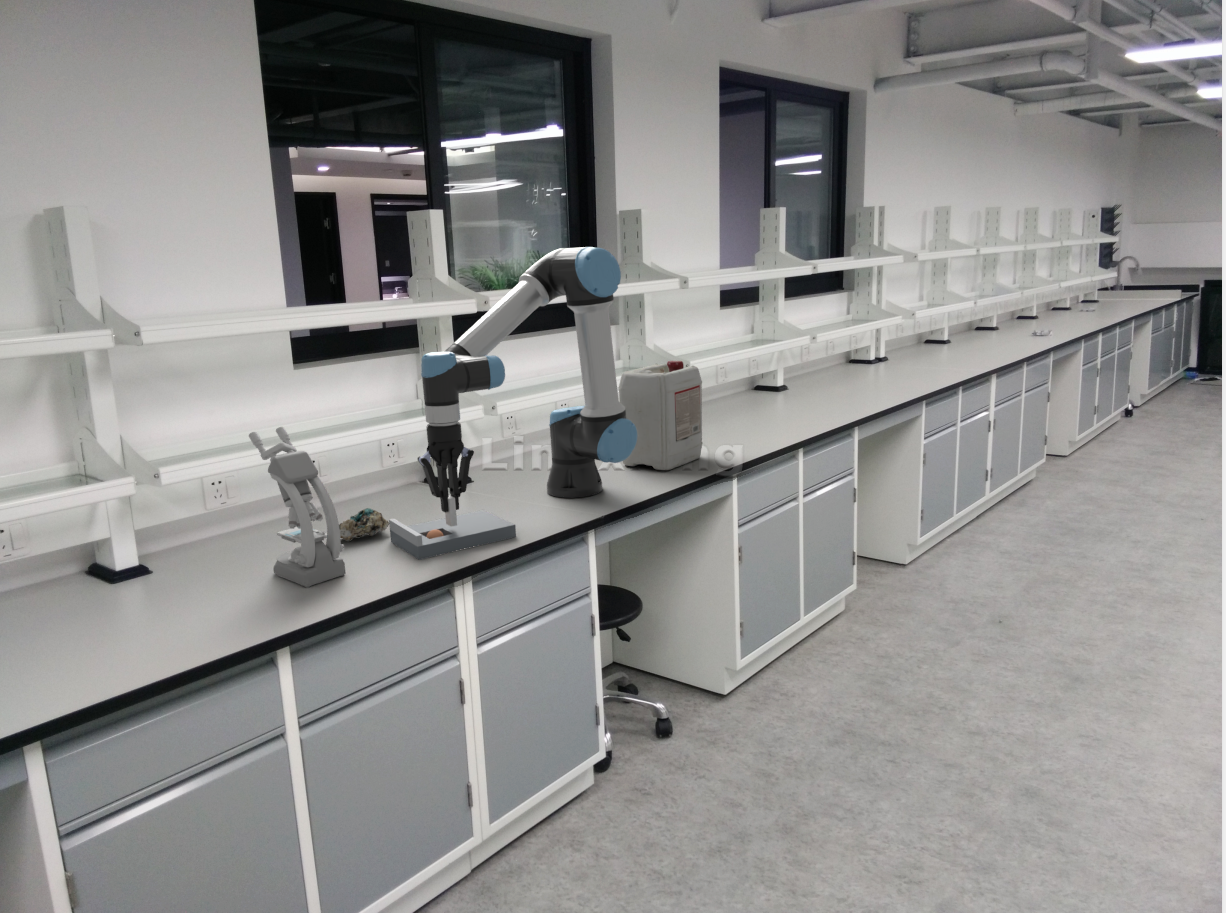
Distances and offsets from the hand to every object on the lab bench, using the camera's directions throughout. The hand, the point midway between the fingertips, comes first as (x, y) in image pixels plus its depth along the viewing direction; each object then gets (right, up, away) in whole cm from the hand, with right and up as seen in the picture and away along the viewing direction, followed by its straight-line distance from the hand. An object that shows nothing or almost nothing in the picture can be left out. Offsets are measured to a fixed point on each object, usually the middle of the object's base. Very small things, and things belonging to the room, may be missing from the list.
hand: (451, 524), depth 204 cm
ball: (-3, -3, -2) cm, 5 cm away
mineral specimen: (-22, -4, +7) cm, 24 cm away
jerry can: (+52, +13, +70) cm, 88 cm away
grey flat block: (0, -4, +3) cm, 5 cm away
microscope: (-28, -9, -15) cm, 33 cm away
